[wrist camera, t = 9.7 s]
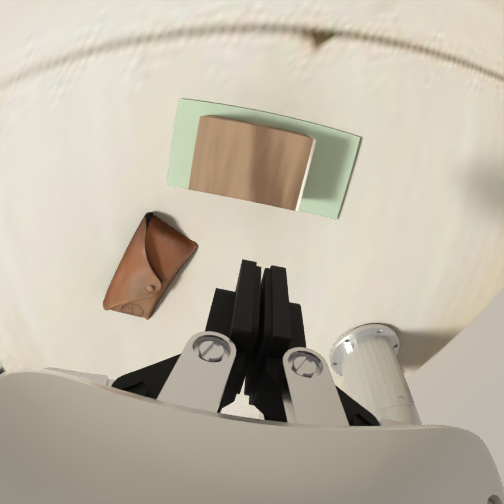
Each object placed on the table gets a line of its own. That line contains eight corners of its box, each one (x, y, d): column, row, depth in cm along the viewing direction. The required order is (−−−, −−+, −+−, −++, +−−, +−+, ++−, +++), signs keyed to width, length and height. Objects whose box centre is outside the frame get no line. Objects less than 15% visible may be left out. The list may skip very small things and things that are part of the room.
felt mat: (359, 136, 34) (360, 137, 33) (335, 218, 39) (336, 219, 38) (179, 98, 33) (178, 98, 32) (167, 184, 38) (166, 184, 37)
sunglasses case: (149, 323, 48) (119, 336, 42) (126, 293, 50) (96, 301, 44) (201, 242, 41) (167, 248, 35) (170, 210, 43) (136, 211, 37)
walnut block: (316, 139, 29) (200, 116, 29) (297, 211, 33) (188, 189, 32) (309, 135, 34) (208, 114, 33) (293, 198, 37) (197, 178, 37)
